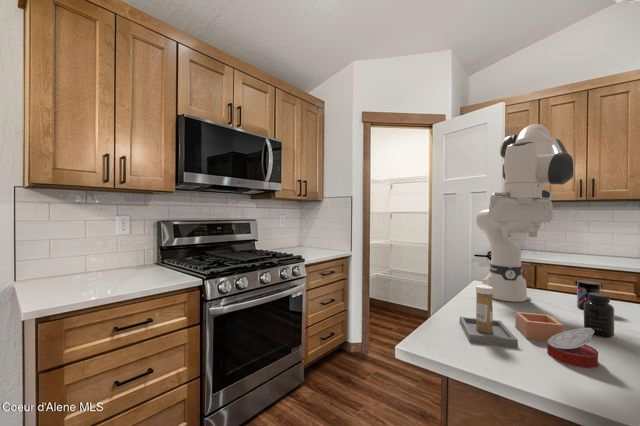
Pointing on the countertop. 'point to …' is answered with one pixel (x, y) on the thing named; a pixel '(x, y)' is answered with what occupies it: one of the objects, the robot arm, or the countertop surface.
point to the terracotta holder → (537, 326)
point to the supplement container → (586, 291)
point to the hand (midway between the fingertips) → (519, 237)
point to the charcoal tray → (496, 337)
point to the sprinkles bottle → (484, 308)
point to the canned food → (573, 348)
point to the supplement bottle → (599, 315)
